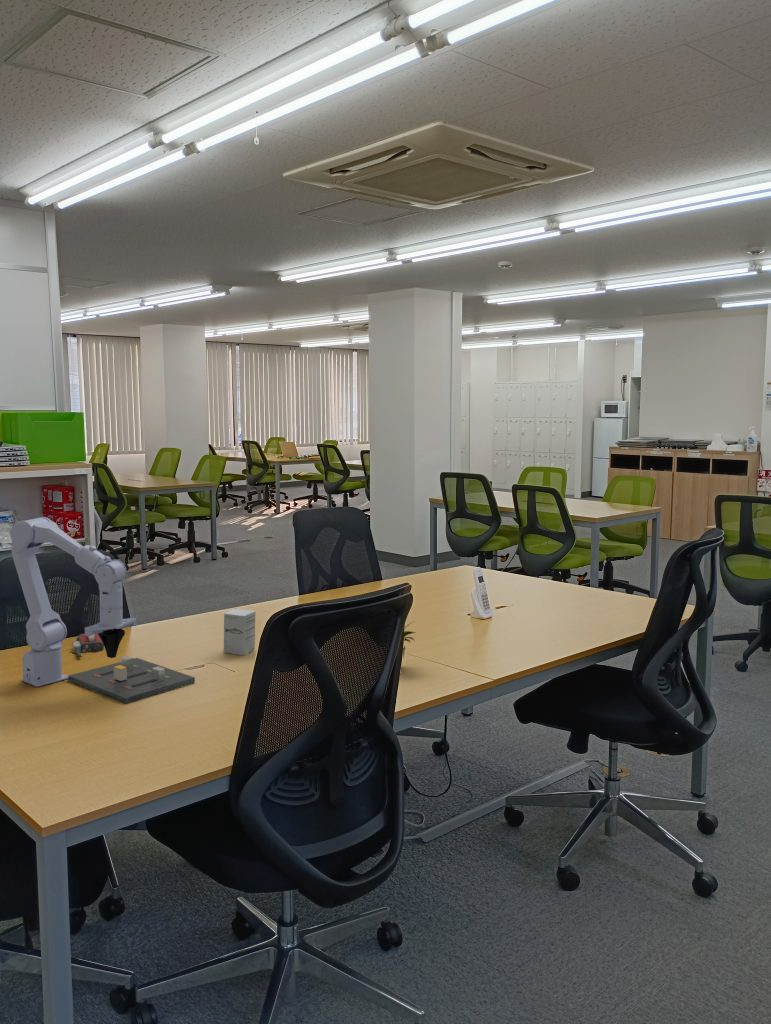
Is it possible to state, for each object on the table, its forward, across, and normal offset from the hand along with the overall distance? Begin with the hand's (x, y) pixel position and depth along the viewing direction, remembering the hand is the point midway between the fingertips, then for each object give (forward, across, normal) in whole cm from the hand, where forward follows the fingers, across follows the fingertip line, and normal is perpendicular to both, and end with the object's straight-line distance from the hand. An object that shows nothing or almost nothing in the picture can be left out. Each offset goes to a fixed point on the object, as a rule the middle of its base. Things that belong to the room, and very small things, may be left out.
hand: (111, 656), depth 220 cm
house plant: (+8, +64, -45) cm, 78 cm away
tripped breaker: (+7, +3, 0) cm, 7 cm away
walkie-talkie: (+9, +16, +34) cm, 39 cm away
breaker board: (+8, +6, 0) cm, 10 cm away
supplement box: (+8, +45, -1) cm, 46 cm away
